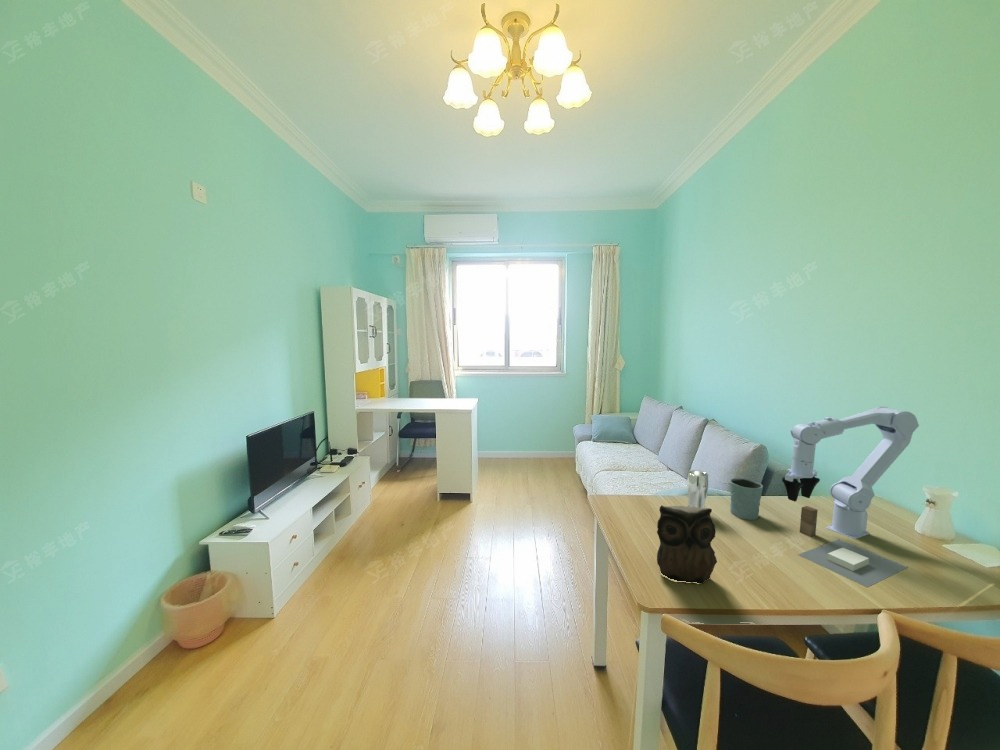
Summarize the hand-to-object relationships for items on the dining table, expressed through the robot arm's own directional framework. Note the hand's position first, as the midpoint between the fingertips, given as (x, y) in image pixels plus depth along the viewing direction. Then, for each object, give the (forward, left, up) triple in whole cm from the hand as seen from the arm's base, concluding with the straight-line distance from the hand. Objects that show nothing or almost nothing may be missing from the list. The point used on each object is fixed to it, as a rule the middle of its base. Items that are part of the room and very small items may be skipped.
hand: (798, 498), depth 127 cm
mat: (+8, +18, -10) cm, 22 cm away
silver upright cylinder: (+22, -22, -11) cm, 33 cm away
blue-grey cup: (+7, -14, -11) cm, 19 cm away
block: (+2, +4, -10) cm, 11 cm away
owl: (+57, +2, -11) cm, 58 cm away
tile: (+6, +18, -9) cm, 21 cm away
